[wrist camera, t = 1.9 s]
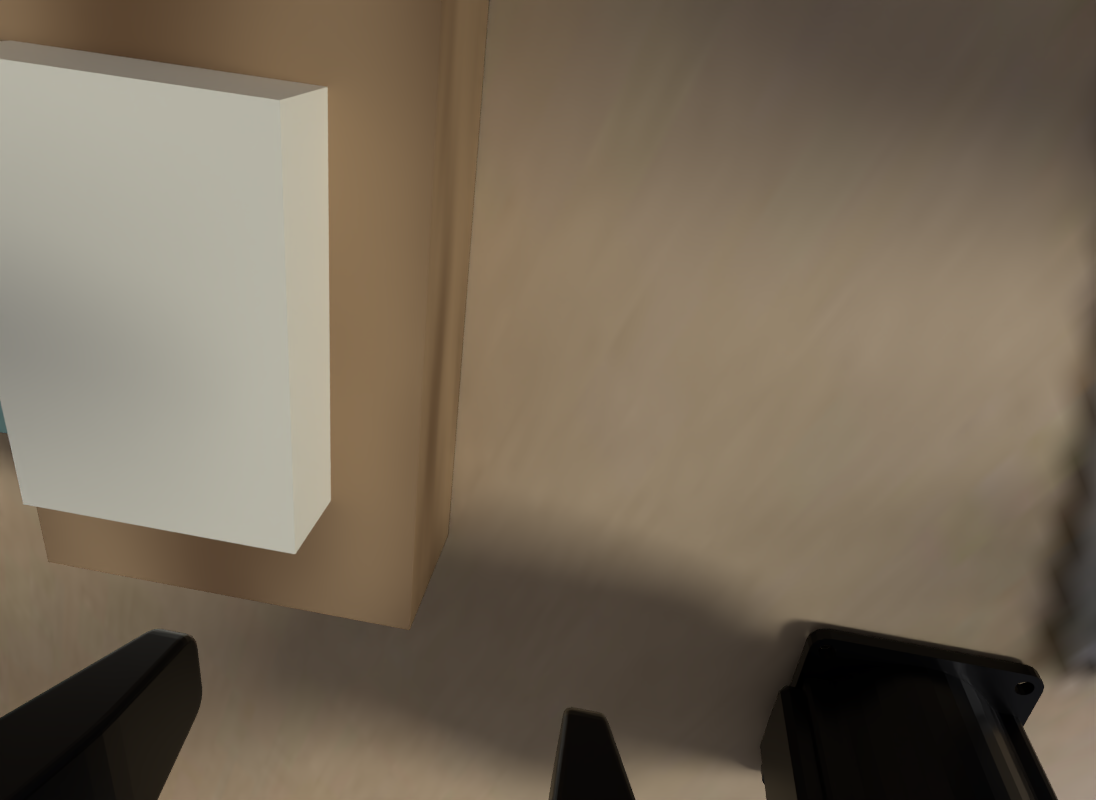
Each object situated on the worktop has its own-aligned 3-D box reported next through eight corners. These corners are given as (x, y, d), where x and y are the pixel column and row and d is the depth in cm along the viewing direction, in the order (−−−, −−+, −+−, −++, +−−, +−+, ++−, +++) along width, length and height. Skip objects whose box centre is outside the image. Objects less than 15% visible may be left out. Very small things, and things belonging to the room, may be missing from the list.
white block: (327, 86, 14) (280, 100, 13) (330, 500, 19) (295, 554, 17) (11, 40, 15) (-79, 46, 13) (83, 456, 19) (23, 503, 17)
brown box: (497, -105, 16) (449, -132, 13) (448, 534, 24) (409, 630, 20) (49, -163, 17) (-116, -204, 13) (139, 478, 24) (48, 561, 21)
